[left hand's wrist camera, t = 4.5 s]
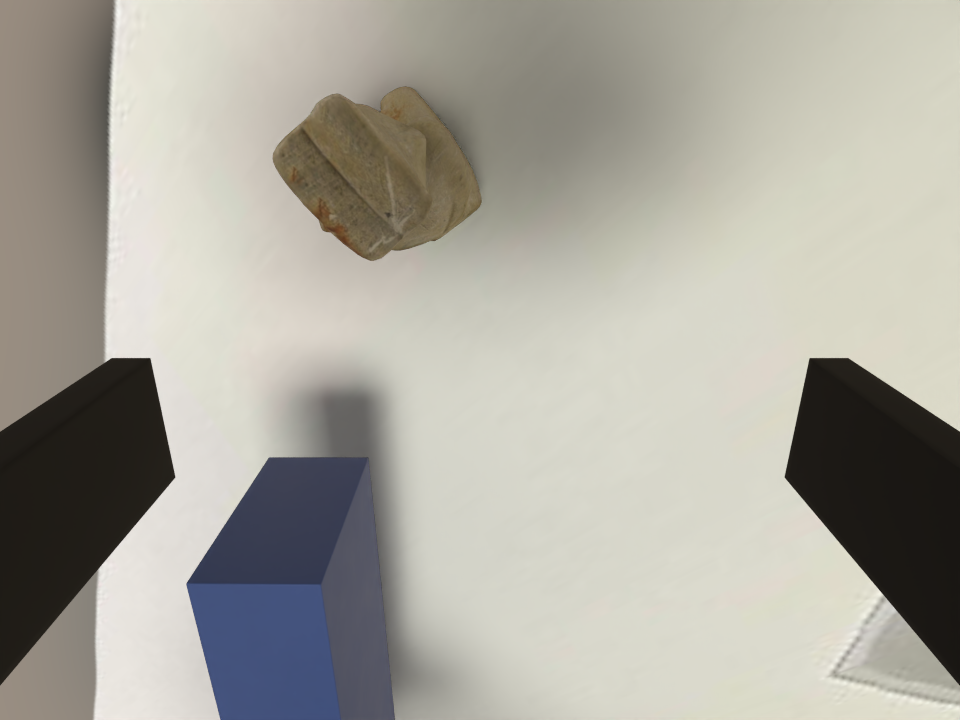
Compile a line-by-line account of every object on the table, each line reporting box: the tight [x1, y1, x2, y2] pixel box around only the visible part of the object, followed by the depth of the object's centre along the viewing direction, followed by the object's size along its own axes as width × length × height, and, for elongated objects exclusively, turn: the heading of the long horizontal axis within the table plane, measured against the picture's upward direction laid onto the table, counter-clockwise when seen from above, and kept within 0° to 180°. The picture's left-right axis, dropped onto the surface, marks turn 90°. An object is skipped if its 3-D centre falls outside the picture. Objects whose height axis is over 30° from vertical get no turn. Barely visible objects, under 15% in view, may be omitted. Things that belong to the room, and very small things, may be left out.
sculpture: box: [273, 87, 482, 261], centre depth 27 cm, size 6×7×15 cm
